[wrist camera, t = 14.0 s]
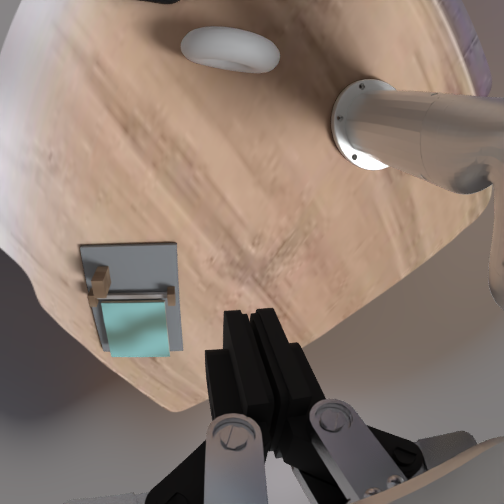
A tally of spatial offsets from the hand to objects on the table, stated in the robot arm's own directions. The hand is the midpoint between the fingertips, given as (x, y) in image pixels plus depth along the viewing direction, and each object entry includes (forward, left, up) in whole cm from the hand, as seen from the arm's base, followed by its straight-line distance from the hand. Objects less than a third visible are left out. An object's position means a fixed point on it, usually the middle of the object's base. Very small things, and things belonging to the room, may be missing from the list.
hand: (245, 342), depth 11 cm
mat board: (+9, +18, -29) cm, 36 cm away
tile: (+9, +21, -27) cm, 35 cm away
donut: (-2, -14, -29) cm, 33 cm away
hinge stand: (+9, +14, -29) cm, 34 cm away
